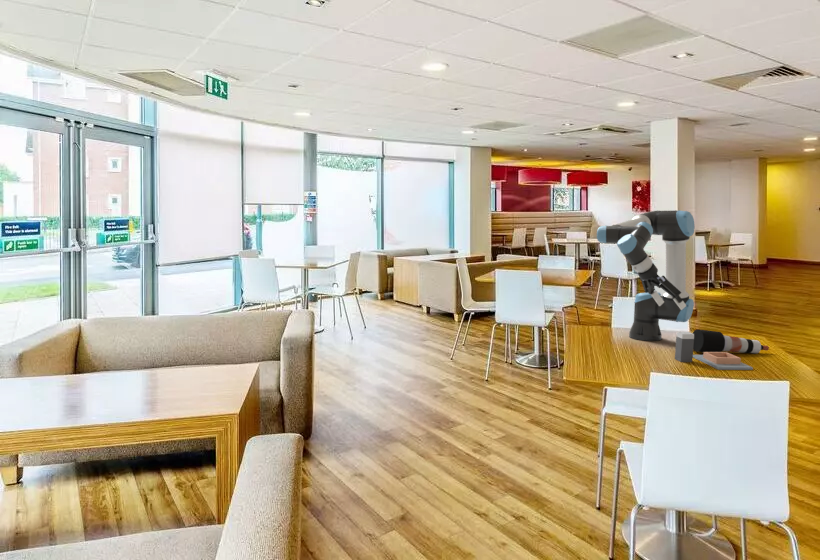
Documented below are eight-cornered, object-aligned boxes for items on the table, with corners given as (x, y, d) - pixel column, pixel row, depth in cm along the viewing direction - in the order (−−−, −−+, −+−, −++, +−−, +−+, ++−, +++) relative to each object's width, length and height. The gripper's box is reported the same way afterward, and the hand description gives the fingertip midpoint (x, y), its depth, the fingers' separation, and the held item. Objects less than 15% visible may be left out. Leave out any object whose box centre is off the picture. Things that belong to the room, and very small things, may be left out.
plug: (674, 358, 238) (676, 331, 237) (686, 358, 238) (688, 331, 237) (680, 361, 233) (682, 334, 232) (692, 362, 234) (694, 334, 232)
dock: (692, 356, 242) (692, 349, 242) (723, 357, 242) (724, 349, 242) (718, 369, 222) (718, 361, 222) (752, 369, 222) (753, 361, 222)
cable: (767, 363, 249) (778, 347, 244) (697, 356, 247) (706, 339, 242) (756, 349, 258) (766, 332, 252) (687, 341, 255) (696, 324, 250)
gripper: (620, 271, 240) (647, 308, 244) (657, 275, 215) (687, 315, 219) (632, 260, 240) (659, 296, 244) (671, 262, 216) (699, 303, 220)
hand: (672, 305), depth 232 cm, fingers open, 13 cm apart
